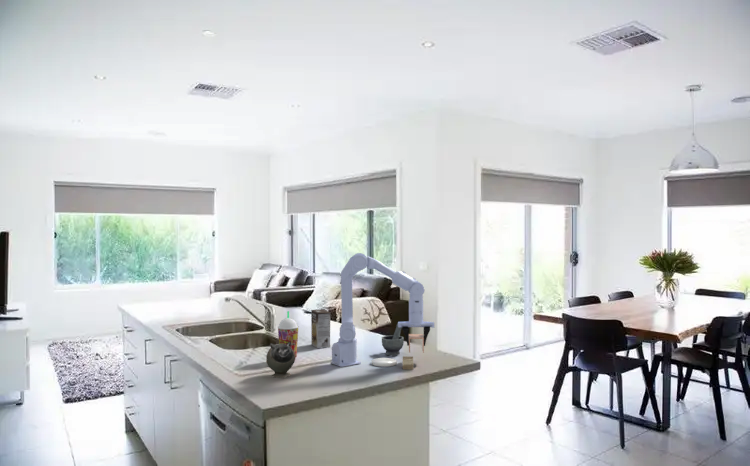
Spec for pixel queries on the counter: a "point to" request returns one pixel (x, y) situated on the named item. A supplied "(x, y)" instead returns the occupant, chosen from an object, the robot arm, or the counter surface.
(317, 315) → the coffee box
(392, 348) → the mortar and pestle
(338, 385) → the counter surface
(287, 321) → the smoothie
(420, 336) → the cover
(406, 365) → the block
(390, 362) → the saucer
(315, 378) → the counter surface
